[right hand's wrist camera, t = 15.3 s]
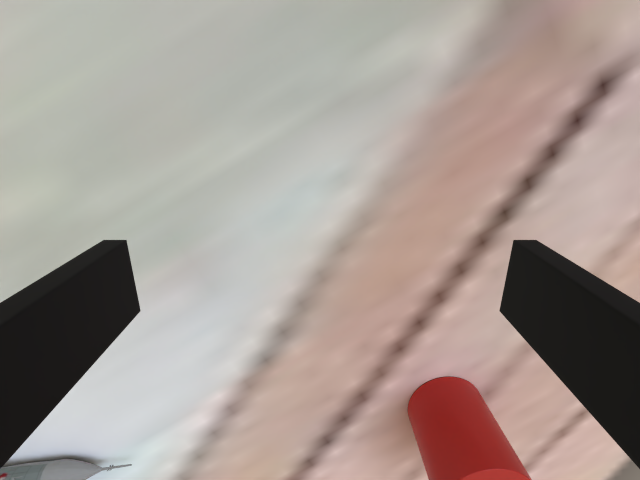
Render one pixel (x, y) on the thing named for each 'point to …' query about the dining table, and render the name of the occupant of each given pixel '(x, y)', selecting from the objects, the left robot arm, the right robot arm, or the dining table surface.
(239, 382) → the dining table surface
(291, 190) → the dining table surface
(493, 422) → the can
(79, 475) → the airplane
